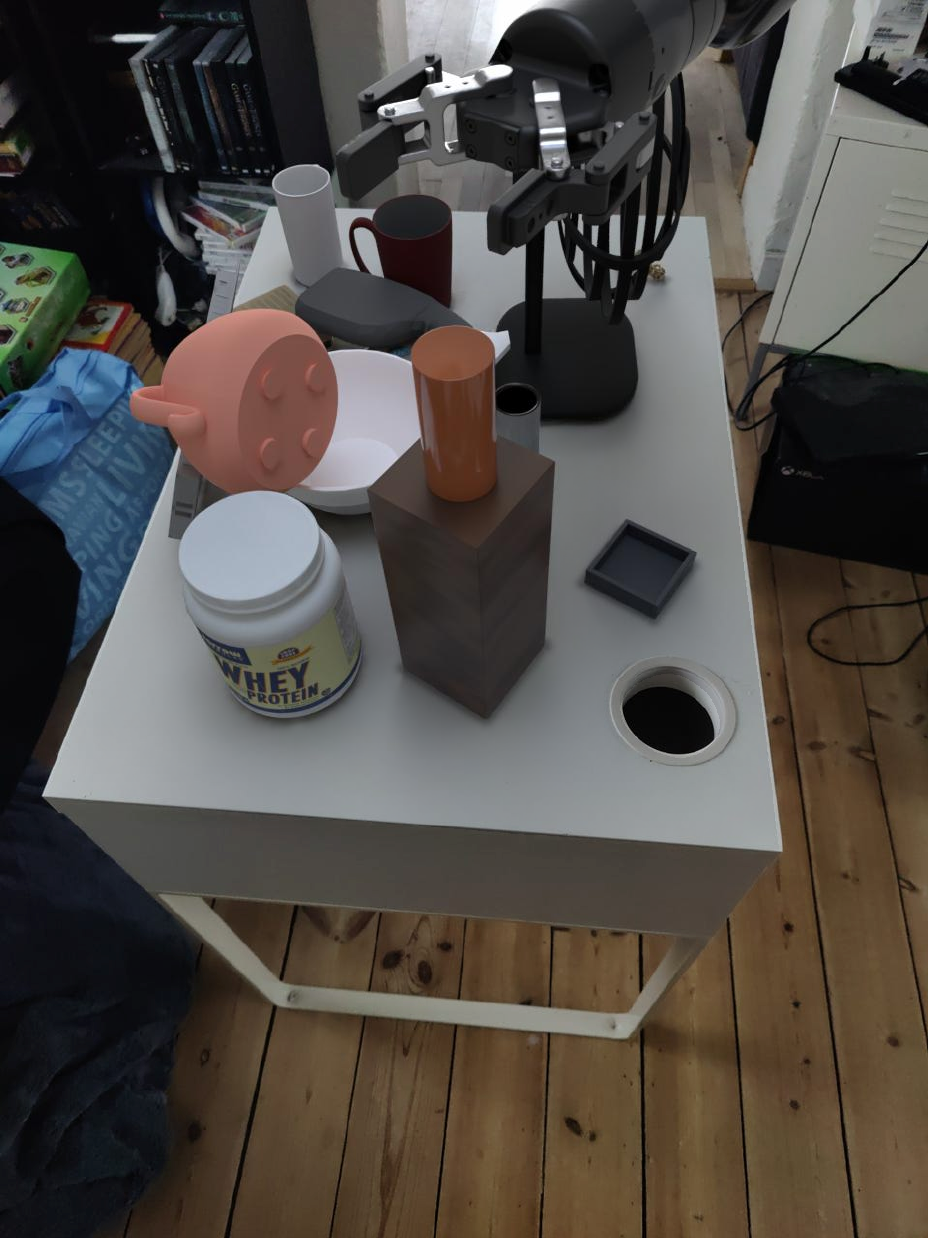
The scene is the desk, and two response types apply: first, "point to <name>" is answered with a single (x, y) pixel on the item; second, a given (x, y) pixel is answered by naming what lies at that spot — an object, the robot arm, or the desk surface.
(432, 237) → the mug
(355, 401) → the bowl
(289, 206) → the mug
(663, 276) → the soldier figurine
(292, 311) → the ink box
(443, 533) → the plant stand
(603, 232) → the desk fan
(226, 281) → the building model
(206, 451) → the teapot
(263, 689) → the supplement tub
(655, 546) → the tray
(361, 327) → the spray bottle
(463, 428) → the copper brown cylinder
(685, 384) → the desk surface
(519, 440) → the gray hollow tube
